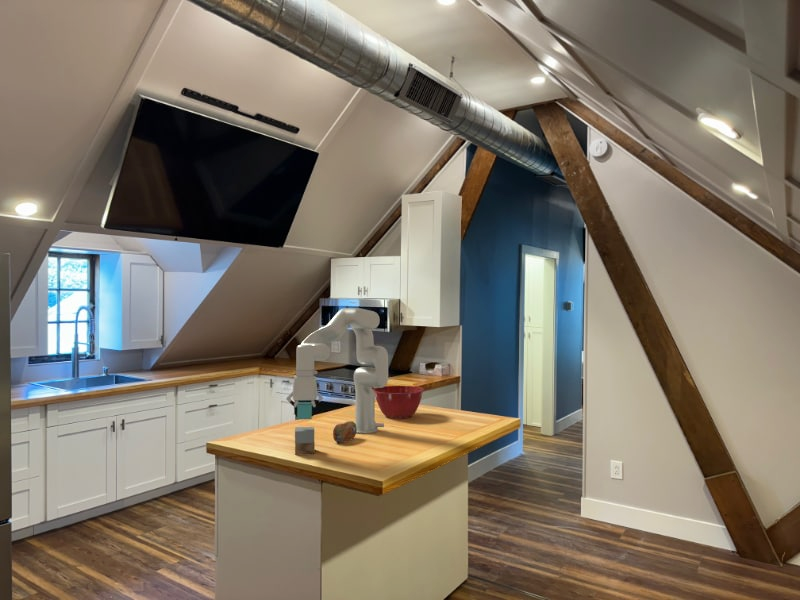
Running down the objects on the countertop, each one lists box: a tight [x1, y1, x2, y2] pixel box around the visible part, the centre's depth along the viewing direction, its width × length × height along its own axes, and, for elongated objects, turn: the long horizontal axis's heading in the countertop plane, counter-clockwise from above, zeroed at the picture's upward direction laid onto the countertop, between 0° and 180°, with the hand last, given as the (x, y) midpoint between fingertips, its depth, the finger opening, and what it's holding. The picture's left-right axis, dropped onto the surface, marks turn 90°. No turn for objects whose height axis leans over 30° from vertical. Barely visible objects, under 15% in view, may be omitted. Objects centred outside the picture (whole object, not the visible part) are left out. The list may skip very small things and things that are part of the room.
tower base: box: [294, 441, 316, 456], centre depth 240 cm, size 8×8×5 cm
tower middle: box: [294, 426, 315, 444], centre depth 240 cm, size 8×8×5 cm
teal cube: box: [296, 401, 313, 420], centre depth 240 cm, size 6×6×6 cm
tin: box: [332, 420, 357, 444], centre depth 261 cm, size 15×3×8 cm, turn 148°
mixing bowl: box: [373, 385, 424, 419], centre depth 317 cm, size 28×28×16 cm
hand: (304, 415), depth 240 cm, fingers closed on teal cube, 6 cm apart
